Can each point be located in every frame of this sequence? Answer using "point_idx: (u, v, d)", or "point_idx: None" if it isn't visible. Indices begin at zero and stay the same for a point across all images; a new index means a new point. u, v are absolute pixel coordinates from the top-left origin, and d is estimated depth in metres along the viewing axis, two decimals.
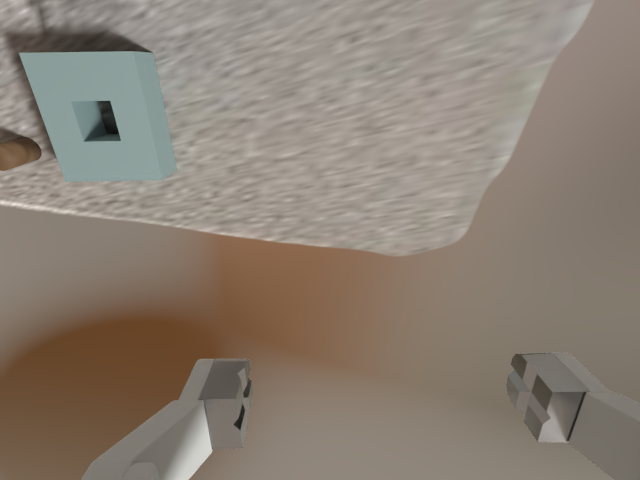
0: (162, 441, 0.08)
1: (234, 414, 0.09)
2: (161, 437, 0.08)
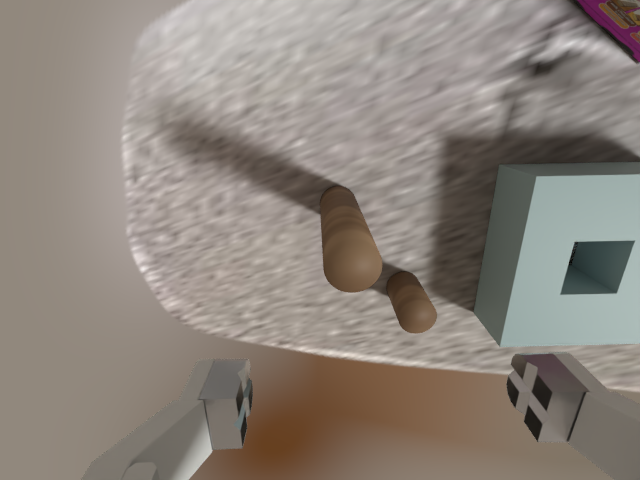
0: (162, 441, 0.08)
1: (234, 414, 0.09)
2: (161, 437, 0.08)
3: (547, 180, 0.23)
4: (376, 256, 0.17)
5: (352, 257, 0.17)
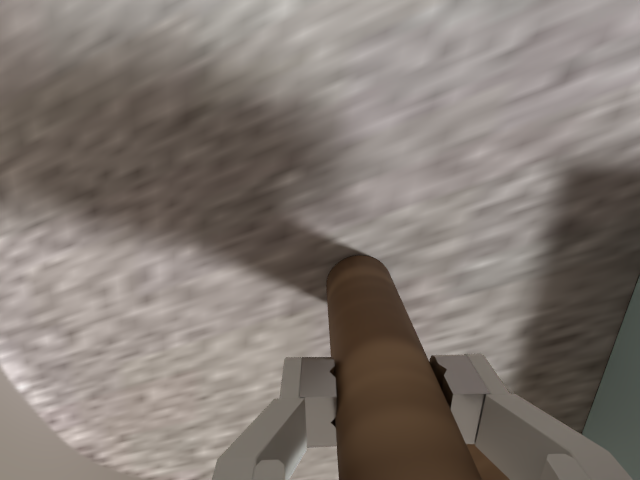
0: (276, 439, 0.08)
1: (332, 412, 0.09)
2: (276, 435, 0.08)
3: None
4: None
5: None
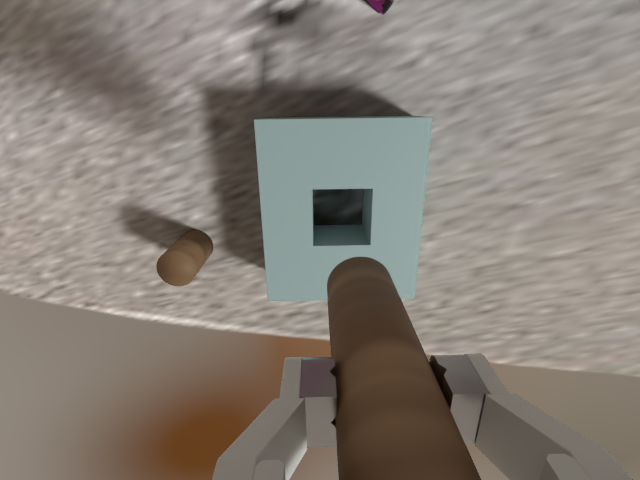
0: (276, 439, 0.08)
1: (333, 412, 0.09)
2: (276, 435, 0.08)
3: (266, 124, 0.23)
4: None
5: None
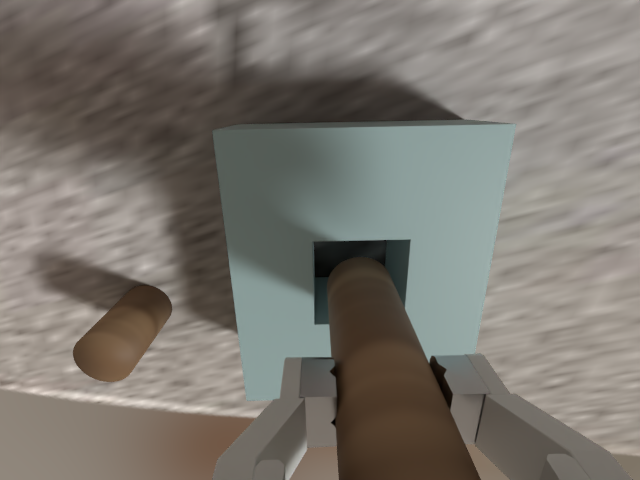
0: (276, 439, 0.08)
1: (332, 412, 0.09)
2: (276, 435, 0.08)
3: (233, 137, 0.14)
4: None
5: None
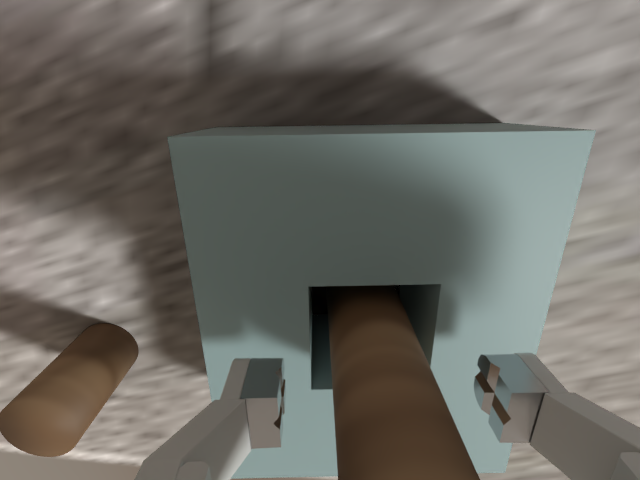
0: (209, 440, 0.08)
1: (274, 413, 0.09)
2: (208, 437, 0.08)
3: (197, 147, 0.10)
4: None
5: None
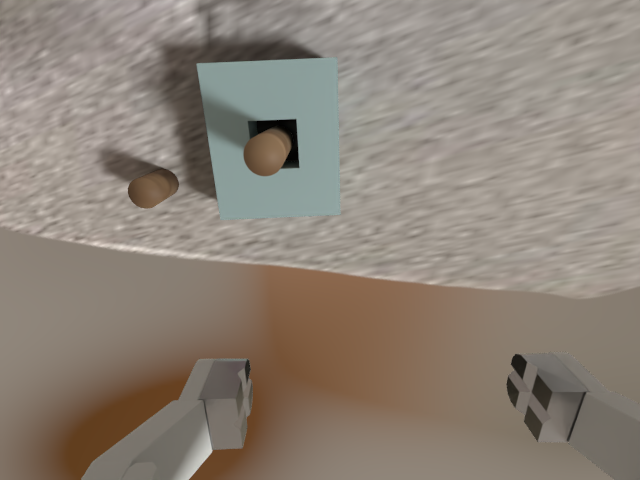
0: (162, 441, 0.08)
1: (234, 414, 0.09)
2: (161, 438, 0.08)
3: (206, 66, 0.29)
4: (279, 147, 0.25)
5: (263, 148, 0.25)
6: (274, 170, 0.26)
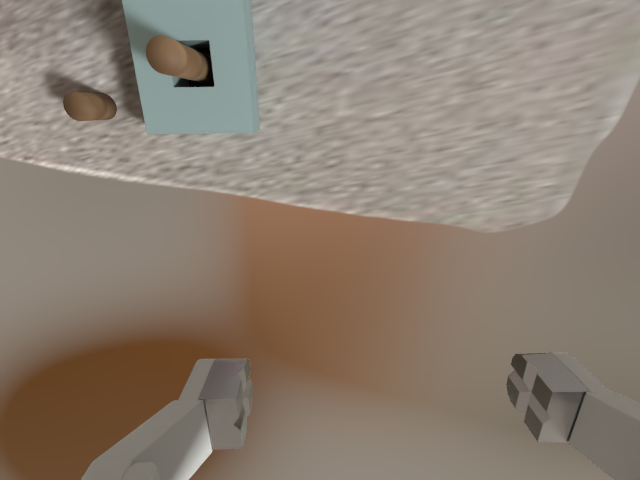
0: (162, 441, 0.08)
1: (234, 414, 0.09)
2: (161, 438, 0.08)
3: None
4: (176, 48, 0.29)
5: (162, 48, 0.29)
6: (173, 69, 0.30)
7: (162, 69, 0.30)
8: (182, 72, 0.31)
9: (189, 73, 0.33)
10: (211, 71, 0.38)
